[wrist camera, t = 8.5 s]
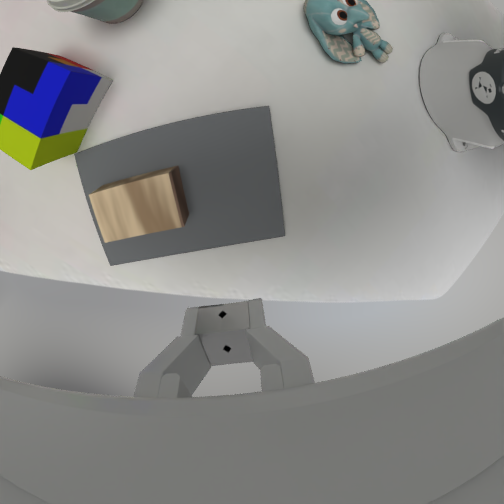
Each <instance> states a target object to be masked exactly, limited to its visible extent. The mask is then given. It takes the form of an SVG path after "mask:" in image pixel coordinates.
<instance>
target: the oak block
mask: <svg viewBox="0 0 504 504" xmlns="http://www.w3.org/2000/svg"><path fill="white" fill-rule="evenodd" d="M89 197H90V201H91V204H92V207H93V210H94V213H95V216H96V219H97V222H98V225H99V228H100V231H101V234H102V237H103V239H104V242H105V243H107V242H111V241H116V240H121V239H125V238H130V237H135V236H140V235H145V234H150V233H155V232H160V231H165V230H170V229H175V228H180V227H185V224H186V221H187V219H188V216H189V211H188V206H187V202H186V198H185V194H184V189H183V185H182V180H181V176H180V171H179V167H178V166H174V167H169V168H165V169H161V170H157V171H153V172H149V173H145V174H141V175H137V176H133V177H130V178H126V179H123V180H119V181H116V182H112V183H109V184H105V185H102V186H101V187H99V188H98V189H96V190H95V191H93V192H92V193H91V194H89Z"/></svg>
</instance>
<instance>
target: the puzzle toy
mask: <svg viewBox="0 0 504 504" xmlns="http://www.w3.org/2000/svg"><path fill="white" fill-rule="evenodd" d="M112 81H113V80H112V79H110V78H108V77H106V76H104V75H102V74H100V73H98V72H96V71H93V70H91V69H89V68H87V67H85V66H82V65H80V64H78V63H76V62H73V61H71V60H69V59H66V58H64V57H61V56H58V55H54V54H49V53H44V52H39V51H33V50H27V49H21V48H14V47H13V48H12V50H11V52H10V54H9V56H8V58H7V60H6V63H5V65H4V67H3V69H2V72H1V74H0V150H2V151H3V152H5V153H6V154H8V155H9V156H11V157H12V158H13V159H15V160H16V161H18V162H19V163H21V164H22V165H24V166H25V167H27V168H28V169H30V170H32V169H35V168H37V167H39V166H42V165H44V164H47V163H49V162H52V161H54V160H57V159H60V158H62V157H65V156H68V155H71V154H74V153H76V152H77V151H78V149H79V146H80V144H81V142H82V140H83V137H84V135H85V133H86V131H87V129H88V126H89V124H90V122H91V120H92V118H93V116H94V114H95V112H96V110H97V108H98V106H99V105H100V103H101V101H102V99H103V97H104V95H105V94H106V92H107V90H108V88H109V87H110V85H111V83H112Z"/></svg>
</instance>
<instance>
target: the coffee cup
mask: <svg viewBox="0 0 504 504" xmlns="http://www.w3.org/2000/svg"><path fill="white" fill-rule="evenodd" d="M142 1H143V0H47V2H48V4H49V5H50V6H51V7H52V8H53V9H54V10H56V11H60V12H68V11H71V12H75V13H78V14H81V15H85V16H88V17H91V18H94V19H97V20H100V21H103V22H106V23H119V22H122V21H124V20H126V19H128V18H130V17H131V16H132V15H133V14H135V13H136V12H137V10H138V9H139V8H140V6H141V4H142Z"/></svg>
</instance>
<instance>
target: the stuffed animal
mask: <svg viewBox="0 0 504 504" xmlns="http://www.w3.org/2000/svg"><path fill="white" fill-rule="evenodd" d="M304 11H305V14H306V17H307V19H308V21H309V26H310V28H311V30H312V32H313V34H314V35H315V36H316V37H317V39H318V40H319V42H320V44H321V46H322V47H323V49H324V51H325V52H326V53H327V54H328V55H329V56H330V57H331V58H332V59H333V60H336V61H339V62H342V63H358V62H360V61H361V58H360V57H361V56H364V55H365V49H367V50H369V51H371V52H372V53H373V55H374V57H375V58H376V59H377V60H378V61H379V62H381V63H384V62H386V61H387V60H388V55H387V54H389V53H391V52H392V49H393V48H392V46H391V45H390V44H389V43H387V42H385V41H383V40H381V38H380V36H379V35H378V34H377V33H375V32H373V31H370V30H368V29H378V28H379V27H380V25H379V21H378V19H377V16H376V14H375V11H374V10H373V8H372V7H371V6H370V5H369V4H368V2H367V1H365V0H305V3H304ZM351 32H352V33H353V46H352V45H351V43H350V42H348V41H347V40H346V39H345V38H344V37H343V36H342V34H348V33H351ZM378 47H379V48H380V49H381V50H380V49H379V48H378Z"/></svg>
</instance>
